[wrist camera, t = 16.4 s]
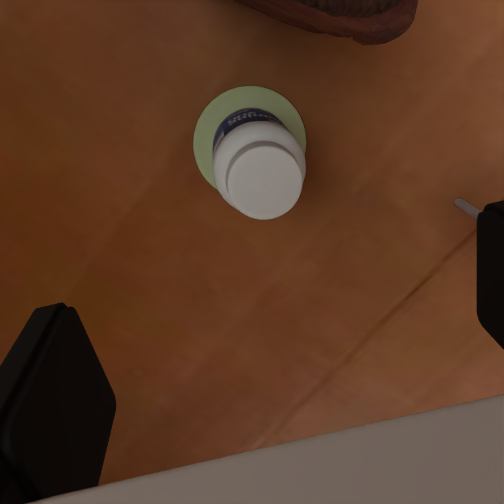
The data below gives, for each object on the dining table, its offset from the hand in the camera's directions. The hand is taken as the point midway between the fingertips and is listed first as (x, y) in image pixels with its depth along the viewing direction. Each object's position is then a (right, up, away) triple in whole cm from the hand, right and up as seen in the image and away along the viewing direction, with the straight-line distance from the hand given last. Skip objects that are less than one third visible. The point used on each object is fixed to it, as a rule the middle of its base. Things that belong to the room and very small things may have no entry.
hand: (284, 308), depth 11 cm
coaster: (-1, +9, +23) cm, 24 cm away
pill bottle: (-1, +9, +23) cm, 24 cm away
